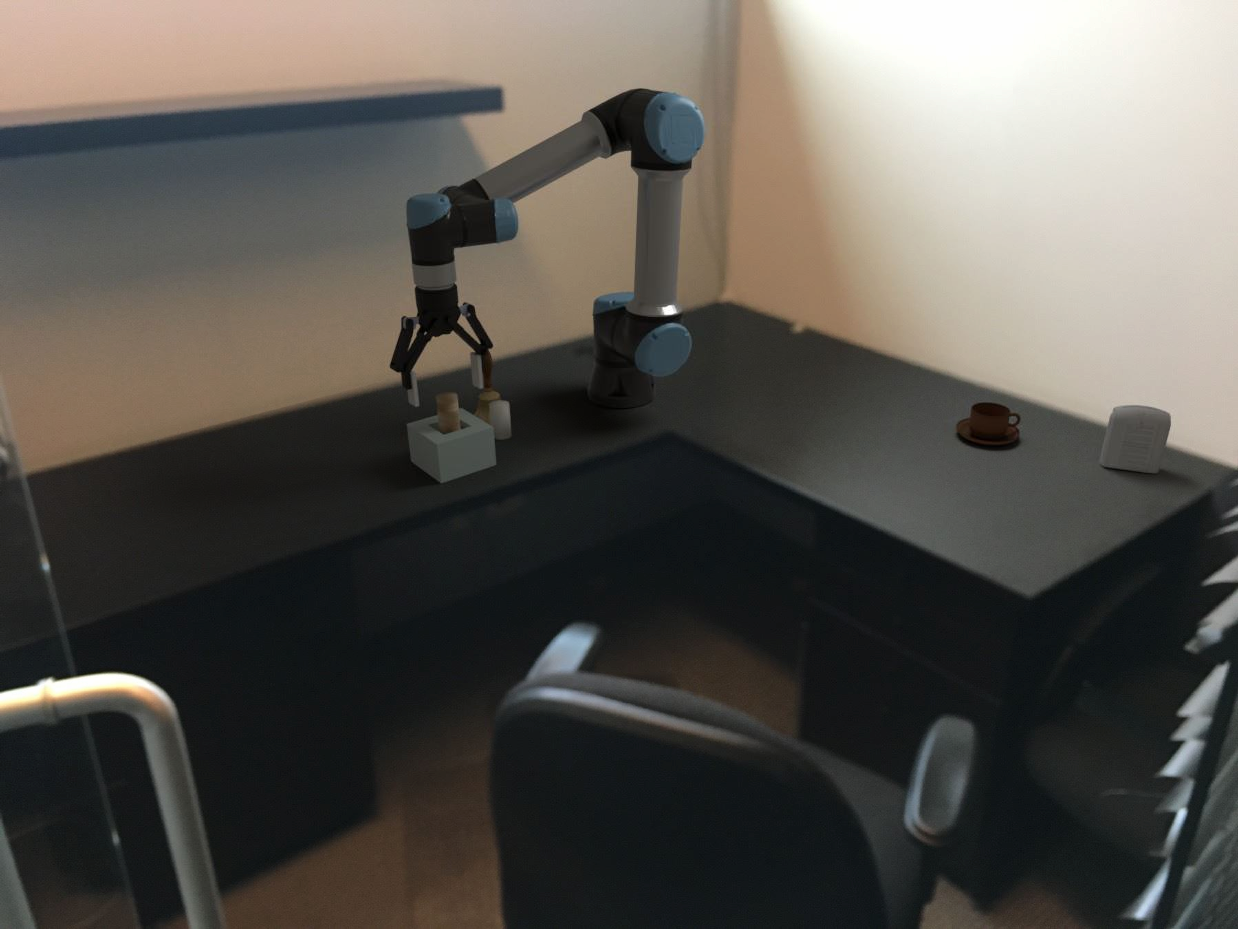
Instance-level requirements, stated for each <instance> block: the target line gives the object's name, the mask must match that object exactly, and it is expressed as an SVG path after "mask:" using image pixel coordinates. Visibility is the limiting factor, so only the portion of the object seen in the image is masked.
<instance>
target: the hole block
mask: <svg viewBox="0 0 1238 929" xmlns="http://www.w3.org/2000/svg"><path fill="white" fill-rule="evenodd" d="M459 417H460V428H461V430H458V431H455V432H451V433H448V434H445V435H443V434H442V433H440V431H439V422H438V414H437V415H433V416H429V417H425V418H422V419H419V420H415V421H412V422H409V423H406V430H407V439H408V446H409V453H410V462H412V463H413V464H414V465H415V466H417V467H418V468H419V469H420V470H422V471H424V472H425V473H426V474H428V475H429V476H430V477H432V478H433V479H435V481H437V482H439V483H440V484H443V483H444V484H445V483H447V482H449V481H452V480H457V479H459V478H463V477H465V476H467V475H471V474H473V473H476V472H480V471H483V470H485V469H488V468H491V467H494V466H497V456H496V454H497V453H496V445H495V442H496V441H495V439H494V428H493V427H492V426H491V425H489V424H487V423H486V422H484V421H482V420H481V419H479V418H477V417H476V416H474V414H472V413H471V412H469V411H467V410H465V409H464V408H463V407H460V408H459Z"/></svg>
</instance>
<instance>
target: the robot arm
mask: <svg viewBox="0 0 1238 929" xmlns="http://www.w3.org/2000/svg"><path fill="white" fill-rule="evenodd" d="M705 136H706V124H705V118H704V117H703V114H702V111H701V110H700V108H699V107H698V105H696V103H695V102H694V101H692V100H691V99H690V98H688V97H686V96H683V95H681V94H678V93H676V92H669V91H661V90H655V89H650V88H642V87H640V88H639V87H638V88H633V89H631V88H630V89H629V90H626V91H623V92H620V93H618V94H617V95H615V96H613V97H610V98H608V99H606V100H605V101H603V102H601V103H600V104H597V105H596V106H594V107H592V108H590V109H588V110H585V112H583V113H582V116H581V119H580V120H579V121H577V122H576V123H573V124H572V125H570V126H569V127H566V128H564V129H563V130H561V131H559V132H557V133H555V134H553V135H552V136H550V137H548V138H546V139H544V140H542V141H541V142H539V143H537V144H535V145H533V146H531V147H529V148H528V149H525V150H524V151H522V152H520V153H519V154H517V155H515V156H513V157H511V158H508V160H505V161H503V162H502V163H500V164H498V165H496V166H494V167H492V168H490V169H489V170H487V171H485V172H484V173H481V174H479V175H478V176H476V177H474V178H472V179H469V180H468V181H466V182H464V183H462V184H459V185H446V186H443V187H441V188H440V189H438V191H437V192H436V193H435V192H433V193H421V194H420V193H419V194H416V195H413V196H411V197H409V198H408V199H407V200H406V203H405V206H406V207H405V208H406V210H405V211H406V214H405V215H406V227H407V234H408V240H409V241H408V242H409V248H410V256H411V267H412V269H411V270H412V278H413V284H414V285H415V287H414V296H415V304H416V309H417V310H416V311H417V312H416V316H411V317H408V316H406V315H403V316H402V317H401V319H400V332H399V334H398V338H397V341H396V344H395V347H394V350H393V354H392V357H391V360H390V363H389V368H390V369H391V370H392V371H394V372H396V373H398V374H399V373H400V376H401V378H400V379H401V384H402V387H403V389H405V390H407V399H408V403H409V404H410V405H412V406H413V407H416V408H417V407H419V406H420V400H419V391H418V390H419V389H418V384H417V383H418V382H417V373H416V371H413V368H414V367H415V366H416V364H417V363H418V360H419V358H420V356H422V353H423V351H424V350H425V348H426V346H427V345H428V343H430V342H431V341H432V338H433V337H434V338H439V337H441V336H444V335H451V334H452V332H454V334H456V335H457V336H458V337H459V339H461V340H462V341H463V342H465V344H467V345H468V347H470V348H471V349H472V350H473V351H471V352H469V354H470V355H469V356H470V357H469V358H470V367H471V380H472V385H473V386H474V387H475V388H477V389H479V390H481V389H484V376H483V373H482V370H483V369H485V356H484V355H486V354H487V350H488V349H489V350H491V349H493V348H494V344H493V341H492V340H491V338H490V337H489V335H488V333H487V331H486V330H485V328H484V327H483V325H482V323H481V321H480V320H479V318H478V316H477V313H476V312H477V311H476V308H475V307H476V306H475V305H473V304H472V303H469V302H465V301H464V302H463V303H462V305H460V306H459V292H458V285H457V284H456V281H457V279H458V278H457V270H456V258H455V249H462V248H470V247H476V246H484V245H492V244H500V243H504V242H505V243H506V242H509V241H512V240H514V239H515V238H516V237H517V235H518V232H519V217H518V216H519V214H518V211H517V207H516V206H515V205H514V204H515V203H517V202H518V201H520V200H522V199H525V198H526V197H528V196H529V195H531V194H534V193H535V192H537V191H539V190H540V189H543V188H545V187H546V186H548V185H551V183H553V182H555V181H557V180H559V179H561V178H562V177H565V176H566V175H568V174H570V173H572V172H573V171H576V170H577V169H579V168H581V167H583V166H584V165H586V164H588V163H590V162H592V161H593V160H595V159H596V160H597V159H598V158H600V159H601V158H602V159H605V160H606V159H608V158H611V157H612V156H614V155H616V154H619V153H623V152H630V169H632V171H634V172H635V174H636V175H637V197H636V199H637V200H636V201H637V202H636V229H635V230H636V231H635V254H634V278H633V280H634V281H633V291H621V292H620V291H619V292H612V293H607V294H603V295H599V296H598V297H597V298H595V300H594V302H593V307H592V314H591V315H592V316H593V317H592V322H593V347H594V348H593V350H594V352H593V354H594V363H593V368H592V371H591V375H590V379H589V382H588V385H587V398H588V399H589V401H590V402H592V403H593V404H595V405H598V406H601V407H606V408H611V409H612V408H613V409H627V408H629V409H630V408H637V407H640V406H644V405H646V404H649V403H651V402H652V401H653V400H654V399H656V398H655V397H656V393H657V391H656V390H657V388H656V383H655V380H654V377H667V376H669V375H671V374H674V373H675V372H678V370H679V369H680V368H681V367H682V365H685V363H686V362H687V360H688V359H689V356H690V354H691V351H692V344H693V342H692V336H691V334H690V332H689V330H688V329H687V328H686V327H685V326H683V319H684V316H683V315H684V307H683V305H681V303H680V302H679V301H678V300H677V295H678V294H677V290H678V277H679V276H678V273H679V258H680V257H679V255H680V239H681V238H680V237H681V236H680V235H681V219H682V205H683V204H682V202H683V201H682V200H683V188H684V187H683V186H684V184H683V183H684V178H685V176H686V175H687V174H689V172H691V170H692V167H693V166H692V165H693V158H694V157H696V156H697V155H698V151H700V150H701V149H702V147H703V144H704V142H705V138H706V137H705ZM461 315H462V317H465V320H466V321H467V323H468V325H469V326H470V328H471V330H472V331H473V333H474V334H475V336H476V338H477V339H478V341H479V342H478V341H477V340H476V339H475V338H474V337H473V336H472V335H471V334H469V332H467V330H466V329H465V328H464V327H463V326H462V325H461V324H459V323H458V321H459V319H460V318H461ZM417 325H419V328H418V330H417V331H416V336H415V338H413V336H414V331H415V330H416V329H417ZM412 338H413V339H414V340H413V341H412Z"/></svg>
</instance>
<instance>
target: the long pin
mask: <svg viewBox="0 0 1238 929" xmlns="http://www.w3.org/2000/svg"><path fill="white" fill-rule="evenodd" d="M458 398H459V397H458V394H457V393H456V392H452V391H451V392H450V391H449V392H447V391H445V392H442V393H439V394H437V395H436V396H435V401H436V409H437V410H436V411H437V415H438V422H439V431H440V433H442V434H443V435H445V434H448V433H451V432H455V431H458V430H461V428H460V417H459V409H460V408H459V399H458Z"/></svg>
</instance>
